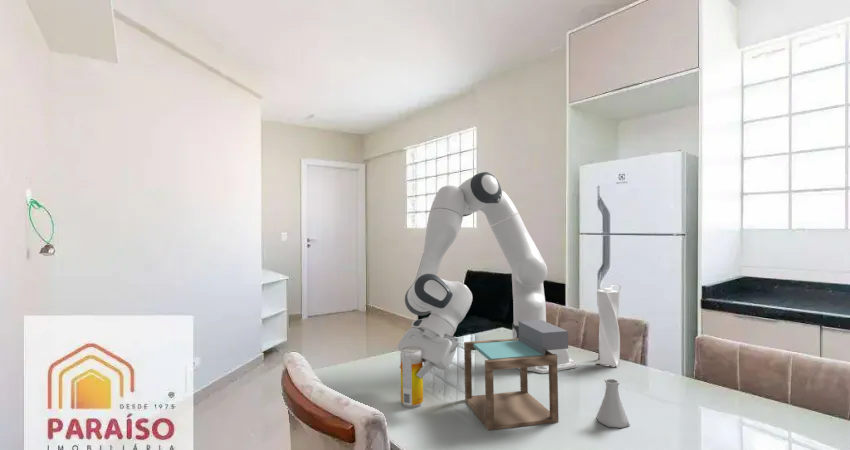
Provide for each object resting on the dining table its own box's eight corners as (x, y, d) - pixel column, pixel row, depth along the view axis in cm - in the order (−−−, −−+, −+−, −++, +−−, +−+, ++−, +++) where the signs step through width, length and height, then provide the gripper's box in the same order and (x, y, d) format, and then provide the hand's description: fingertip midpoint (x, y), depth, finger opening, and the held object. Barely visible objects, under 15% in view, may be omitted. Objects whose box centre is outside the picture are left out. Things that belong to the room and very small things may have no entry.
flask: (591, 415, 102) (590, 376, 103) (618, 414, 103) (617, 374, 103) (606, 429, 95) (605, 386, 95) (635, 428, 96) (634, 385, 96)
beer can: (426, 400, 113) (425, 346, 113) (418, 409, 107) (417, 352, 108) (406, 397, 115) (405, 344, 115) (397, 406, 109) (396, 350, 110)
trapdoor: (541, 342, 116) (541, 319, 116) (568, 356, 103) (567, 331, 103) (473, 347, 112) (473, 324, 112) (491, 362, 98) (491, 336, 99)
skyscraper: (624, 362, 143) (622, 283, 144) (621, 369, 136) (619, 285, 137) (598, 359, 147) (596, 282, 148) (595, 365, 141) (593, 284, 141)
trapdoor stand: (525, 393, 117) (524, 337, 117) (558, 421, 99) (557, 356, 100) (465, 399, 113) (464, 342, 114) (488, 430, 96) (487, 362, 96)
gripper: (467, 345, 110) (440, 390, 104) (422, 331, 127) (396, 370, 120) (454, 331, 108) (426, 377, 102) (410, 319, 124) (383, 358, 118)
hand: (409, 373), depth 111 cm, fingers closed on beer can, 6 cm apart
